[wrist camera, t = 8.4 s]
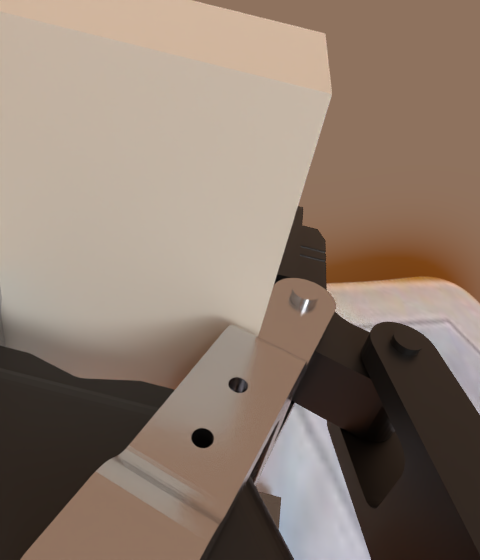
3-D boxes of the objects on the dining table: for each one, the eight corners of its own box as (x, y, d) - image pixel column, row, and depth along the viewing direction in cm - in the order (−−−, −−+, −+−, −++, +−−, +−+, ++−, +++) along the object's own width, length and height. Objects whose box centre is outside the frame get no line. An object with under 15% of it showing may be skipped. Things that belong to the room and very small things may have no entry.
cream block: (226, 391, 17) (325, 33, 10) (188, 564, 12) (331, 94, 5) (109, 361, 17) (125, -17, 10) (22, 522, 12) (-66, -5, 5)
